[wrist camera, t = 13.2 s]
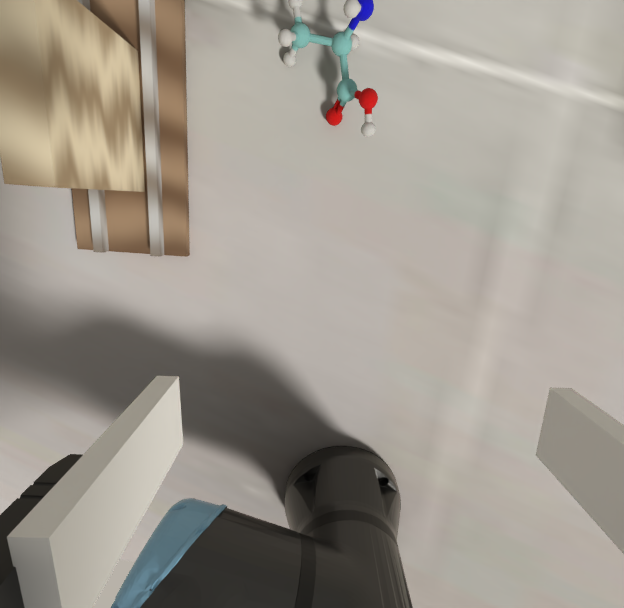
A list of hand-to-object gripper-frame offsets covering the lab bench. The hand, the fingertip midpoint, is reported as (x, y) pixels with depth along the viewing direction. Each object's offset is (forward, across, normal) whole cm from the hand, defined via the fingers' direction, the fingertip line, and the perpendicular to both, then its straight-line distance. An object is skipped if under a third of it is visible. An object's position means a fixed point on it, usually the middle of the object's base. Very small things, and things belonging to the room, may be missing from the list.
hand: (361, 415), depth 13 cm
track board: (+30, +21, -15) cm, 40 cm away
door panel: (+29, +21, -15) cm, 39 cm away
